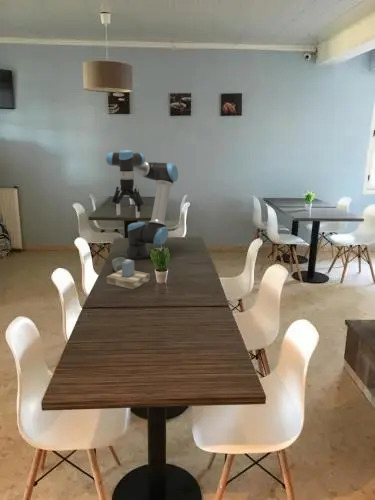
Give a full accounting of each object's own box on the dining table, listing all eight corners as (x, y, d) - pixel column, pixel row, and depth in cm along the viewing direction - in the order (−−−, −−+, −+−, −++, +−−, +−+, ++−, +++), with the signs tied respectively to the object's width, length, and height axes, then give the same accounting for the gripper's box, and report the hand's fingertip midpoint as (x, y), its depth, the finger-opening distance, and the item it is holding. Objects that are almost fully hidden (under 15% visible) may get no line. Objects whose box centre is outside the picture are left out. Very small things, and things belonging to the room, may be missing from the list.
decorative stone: (127, 275, 246) (132, 259, 249) (109, 269, 243) (114, 253, 247) (124, 278, 258) (128, 263, 261) (107, 273, 255) (111, 258, 259)
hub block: (124, 275, 246) (124, 268, 245) (149, 280, 237) (149, 273, 236) (106, 283, 232) (106, 276, 231) (133, 289, 224) (132, 282, 223)
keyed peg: (122, 282, 233) (121, 261, 230) (128, 279, 238) (128, 258, 235) (128, 284, 231) (127, 262, 228) (134, 280, 236) (134, 259, 233)
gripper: (105, 177, 236) (106, 214, 242) (141, 180, 224) (142, 219, 230) (113, 176, 242) (114, 212, 248) (149, 179, 230) (149, 217, 236)
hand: (128, 216), depth 239 cm, fingers open, 13 cm apart
